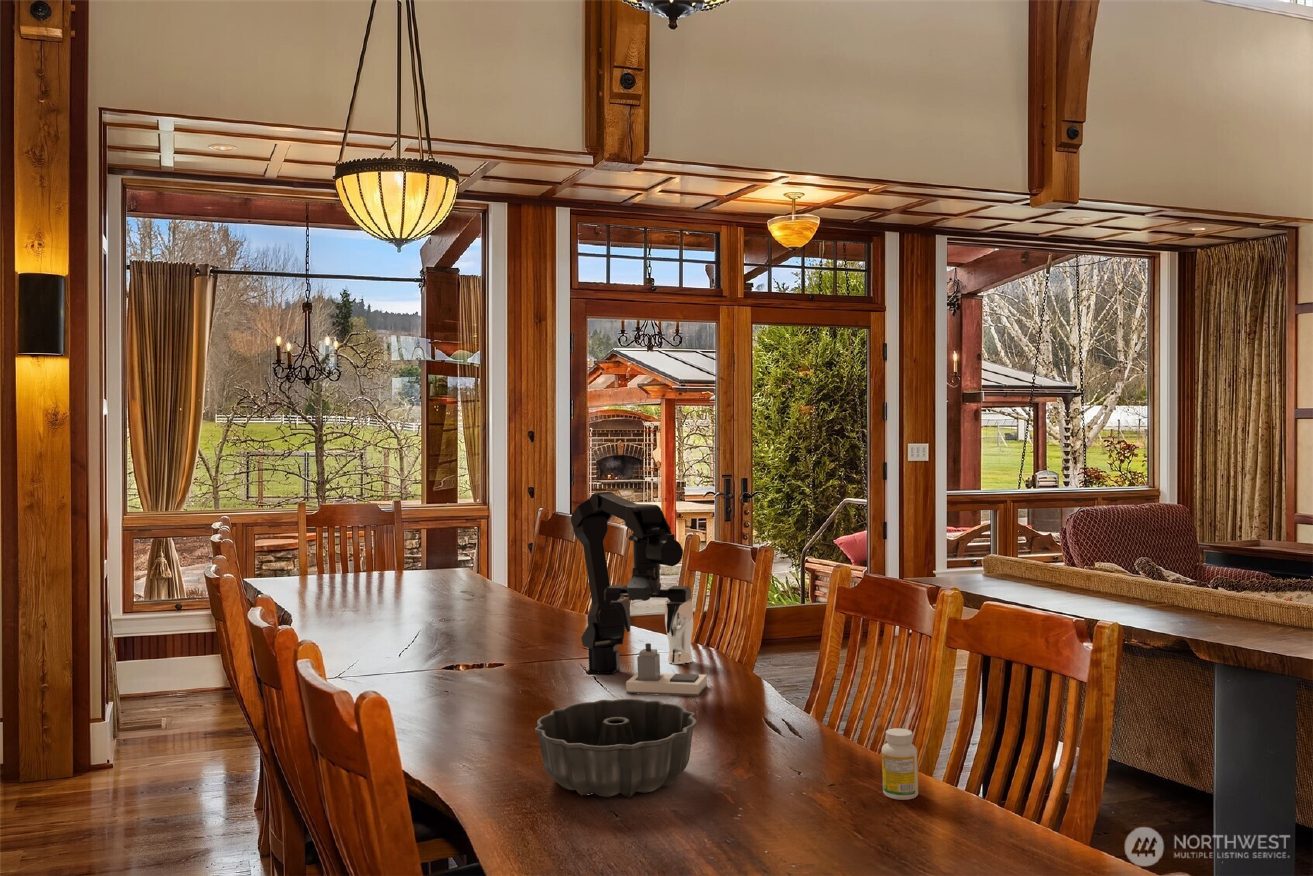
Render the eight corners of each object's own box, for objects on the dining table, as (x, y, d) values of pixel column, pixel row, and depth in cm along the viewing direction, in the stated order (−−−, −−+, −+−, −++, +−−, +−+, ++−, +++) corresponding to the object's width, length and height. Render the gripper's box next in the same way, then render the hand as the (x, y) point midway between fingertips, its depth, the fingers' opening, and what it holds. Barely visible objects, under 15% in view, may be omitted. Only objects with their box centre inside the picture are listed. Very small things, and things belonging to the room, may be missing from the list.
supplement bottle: (908, 803, 154) (906, 739, 154) (876, 796, 157) (874, 733, 157) (924, 793, 158) (922, 730, 158) (892, 786, 162) (891, 725, 162)
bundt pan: (685, 813, 153) (683, 746, 153) (515, 807, 158) (513, 742, 158) (708, 757, 179) (706, 699, 179) (561, 753, 184) (560, 697, 184)
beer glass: (692, 665, 249) (690, 603, 249) (663, 665, 250) (661, 603, 250) (696, 659, 256) (694, 598, 256) (669, 658, 257) (667, 598, 257)
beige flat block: (626, 693, 224) (625, 680, 224) (637, 683, 233) (637, 670, 233) (698, 696, 220) (697, 682, 220) (707, 686, 228) (706, 672, 228)
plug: (638, 688, 226) (636, 645, 226) (643, 684, 230) (641, 641, 230) (655, 689, 225) (654, 646, 225) (660, 685, 229) (659, 642, 229)
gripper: (595, 566, 223) (597, 638, 223) (678, 567, 218) (680, 641, 218) (610, 559, 234) (612, 628, 234) (690, 560, 229) (692, 630, 229)
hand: (648, 632), depth 228 cm, fingers open, 9 cm apart
